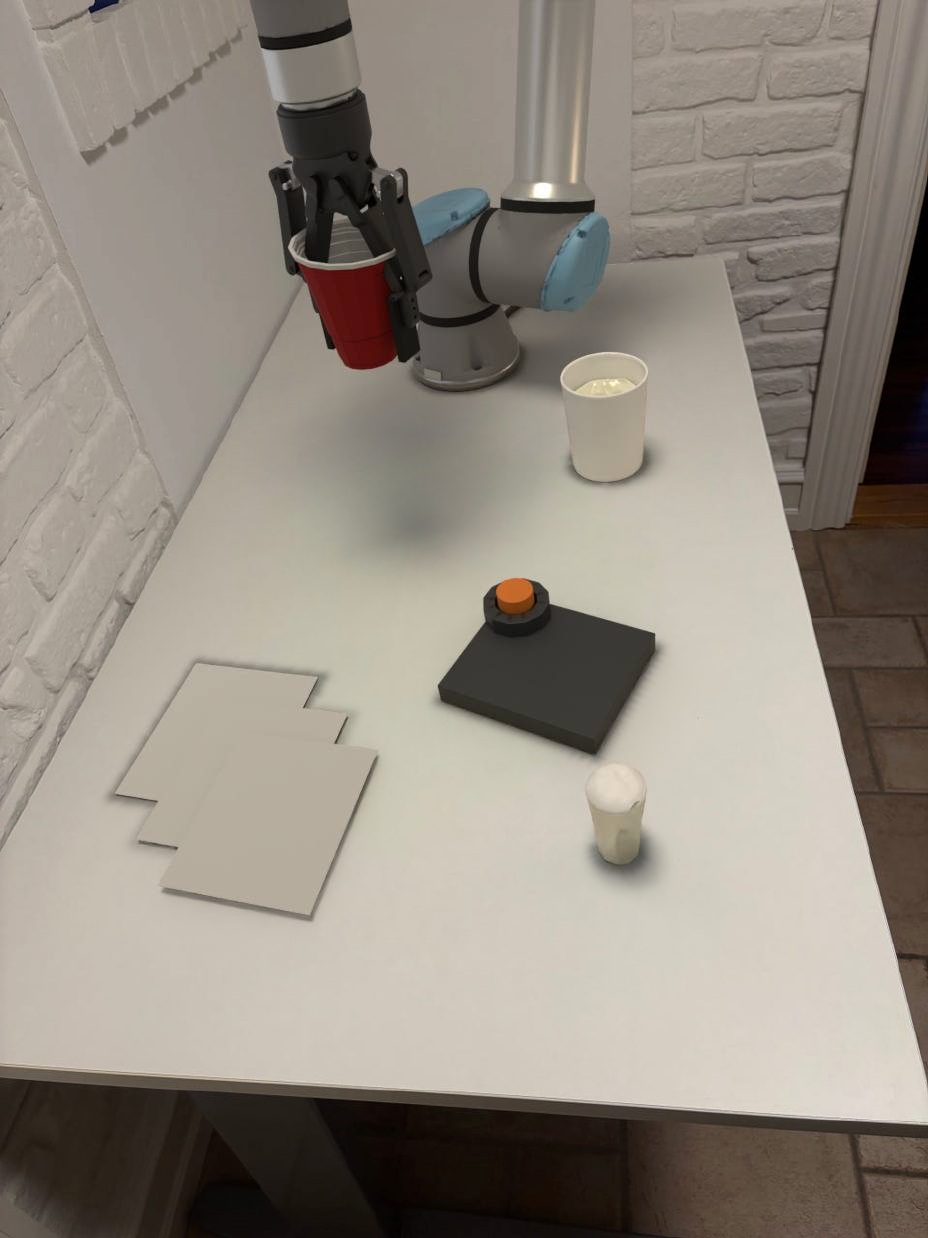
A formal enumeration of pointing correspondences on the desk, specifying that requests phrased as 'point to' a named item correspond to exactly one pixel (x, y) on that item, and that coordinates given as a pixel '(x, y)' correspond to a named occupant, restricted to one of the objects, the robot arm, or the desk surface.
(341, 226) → the plastic cup
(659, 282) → the desk surface
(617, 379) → the white paper cup
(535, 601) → the dark grey flat block
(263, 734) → the paper stack
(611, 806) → the milkshake
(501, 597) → the button
